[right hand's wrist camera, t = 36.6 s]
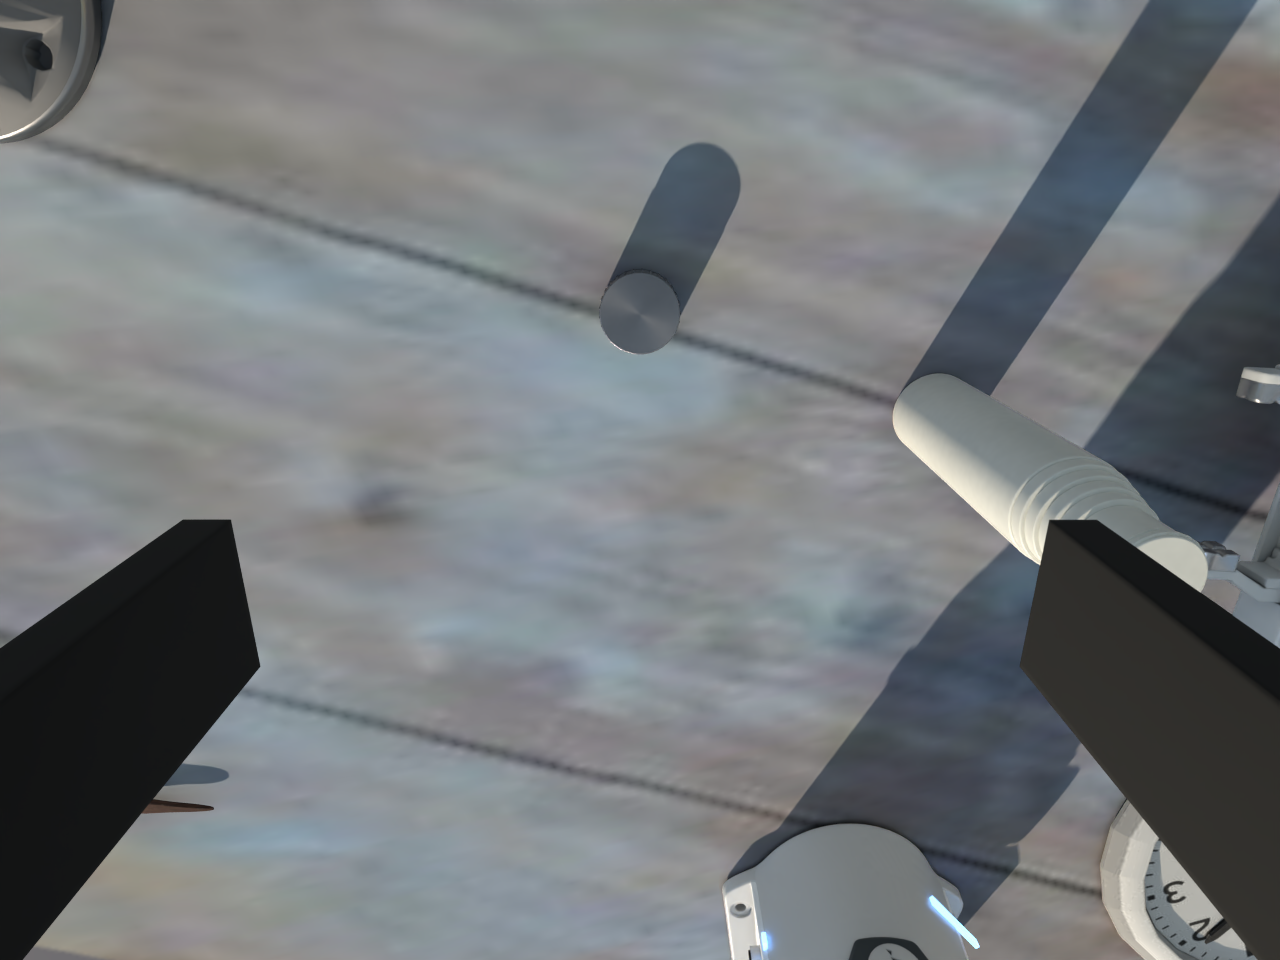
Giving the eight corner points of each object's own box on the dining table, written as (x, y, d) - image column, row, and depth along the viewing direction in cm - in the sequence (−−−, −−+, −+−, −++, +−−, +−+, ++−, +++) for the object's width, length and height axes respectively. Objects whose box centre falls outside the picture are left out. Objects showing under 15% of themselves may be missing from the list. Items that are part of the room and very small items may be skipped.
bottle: (989, 388, 47) (1264, 539, 26) (950, 462, 48) (1181, 658, 28) (914, 361, 46) (1136, 493, 26) (878, 437, 48) (1059, 618, 27)
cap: (670, 260, 44) (672, 263, 42) (686, 339, 46) (688, 345, 44) (592, 278, 44) (590, 282, 42) (610, 355, 46) (609, 363, 44)
